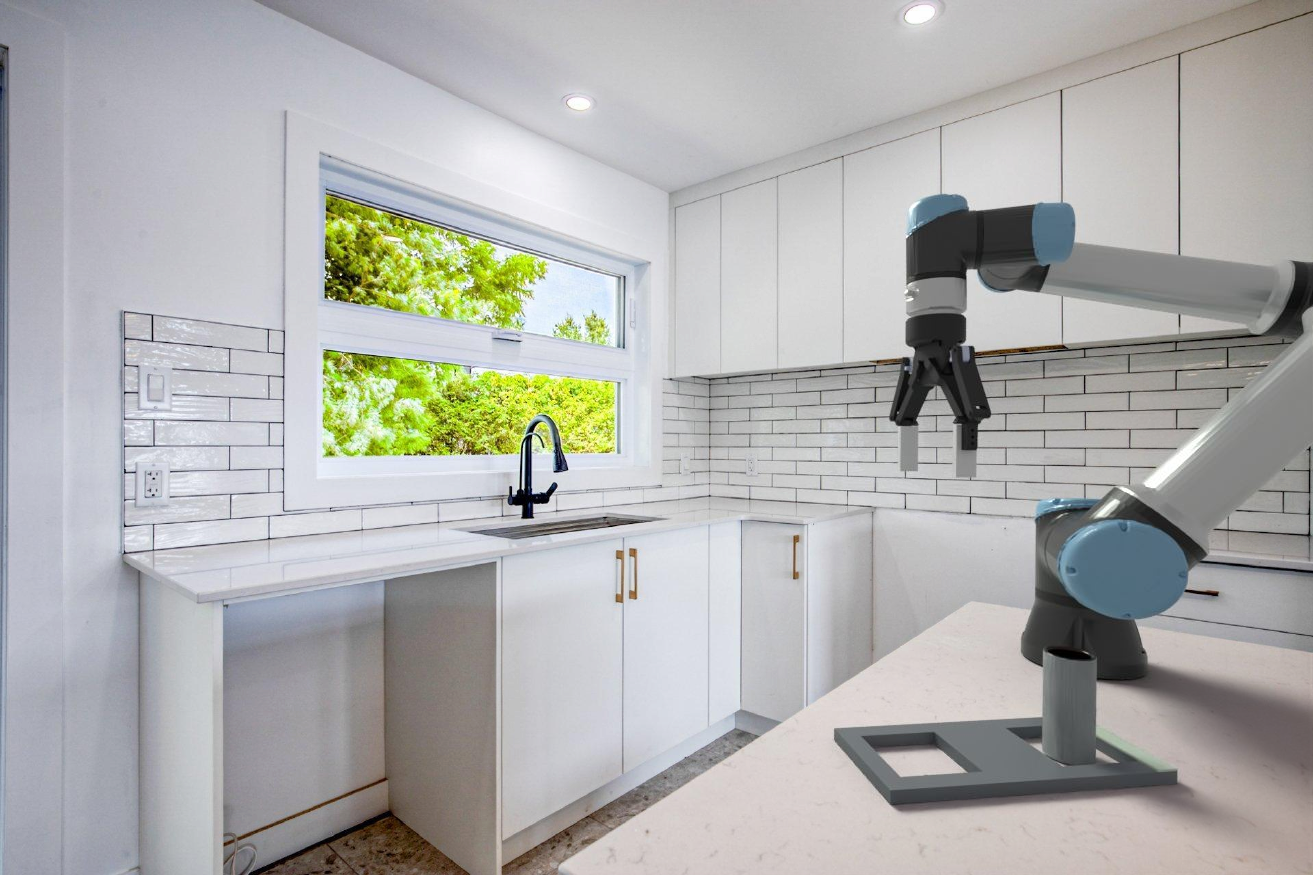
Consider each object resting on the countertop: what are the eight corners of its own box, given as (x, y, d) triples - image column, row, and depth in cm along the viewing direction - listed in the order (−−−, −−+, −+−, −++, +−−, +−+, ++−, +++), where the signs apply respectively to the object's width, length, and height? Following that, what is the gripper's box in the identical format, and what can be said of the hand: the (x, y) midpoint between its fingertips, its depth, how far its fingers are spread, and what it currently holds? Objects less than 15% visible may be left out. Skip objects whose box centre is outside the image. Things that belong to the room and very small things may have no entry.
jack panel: (1076, 725, 72) (1076, 713, 72) (1177, 783, 60) (1177, 768, 60) (833, 739, 68) (834, 726, 68) (890, 804, 56) (890, 787, 56)
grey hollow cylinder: (1087, 748, 67) (1089, 648, 67) (1102, 770, 62) (1103, 662, 62) (1037, 741, 68) (1038, 643, 68) (1047, 762, 64) (1049, 656, 64)
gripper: (866, 330, 99) (865, 469, 99) (965, 295, 75) (963, 480, 75) (913, 331, 100) (911, 469, 100) (1025, 297, 76) (1023, 480, 76)
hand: (933, 474), depth 88 cm, fingers open, 13 cm apart
